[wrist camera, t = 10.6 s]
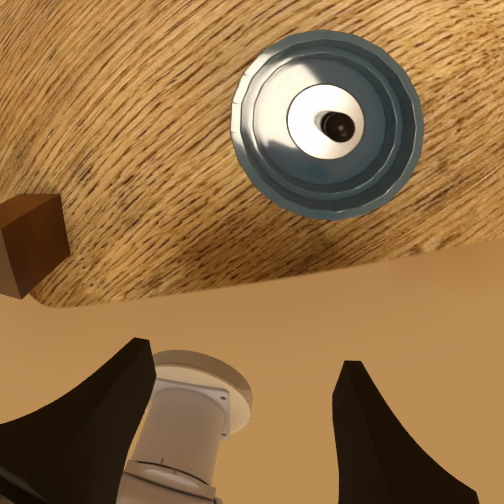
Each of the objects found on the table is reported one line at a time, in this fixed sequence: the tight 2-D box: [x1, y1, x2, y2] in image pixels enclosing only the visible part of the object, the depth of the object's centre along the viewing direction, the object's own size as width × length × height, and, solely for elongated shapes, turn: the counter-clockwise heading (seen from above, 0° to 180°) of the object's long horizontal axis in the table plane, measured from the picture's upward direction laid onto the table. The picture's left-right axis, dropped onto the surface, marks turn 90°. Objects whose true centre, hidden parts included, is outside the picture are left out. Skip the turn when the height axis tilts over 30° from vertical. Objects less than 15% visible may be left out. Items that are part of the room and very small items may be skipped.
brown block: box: [0, 194, 70, 299], centre depth 18 cm, size 5×5×6 cm
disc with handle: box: [286, 83, 365, 160], centre depth 13 cm, size 4×4×6 cm
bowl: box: [230, 30, 424, 221], centre depth 15 cm, size 9×9×4 cm
